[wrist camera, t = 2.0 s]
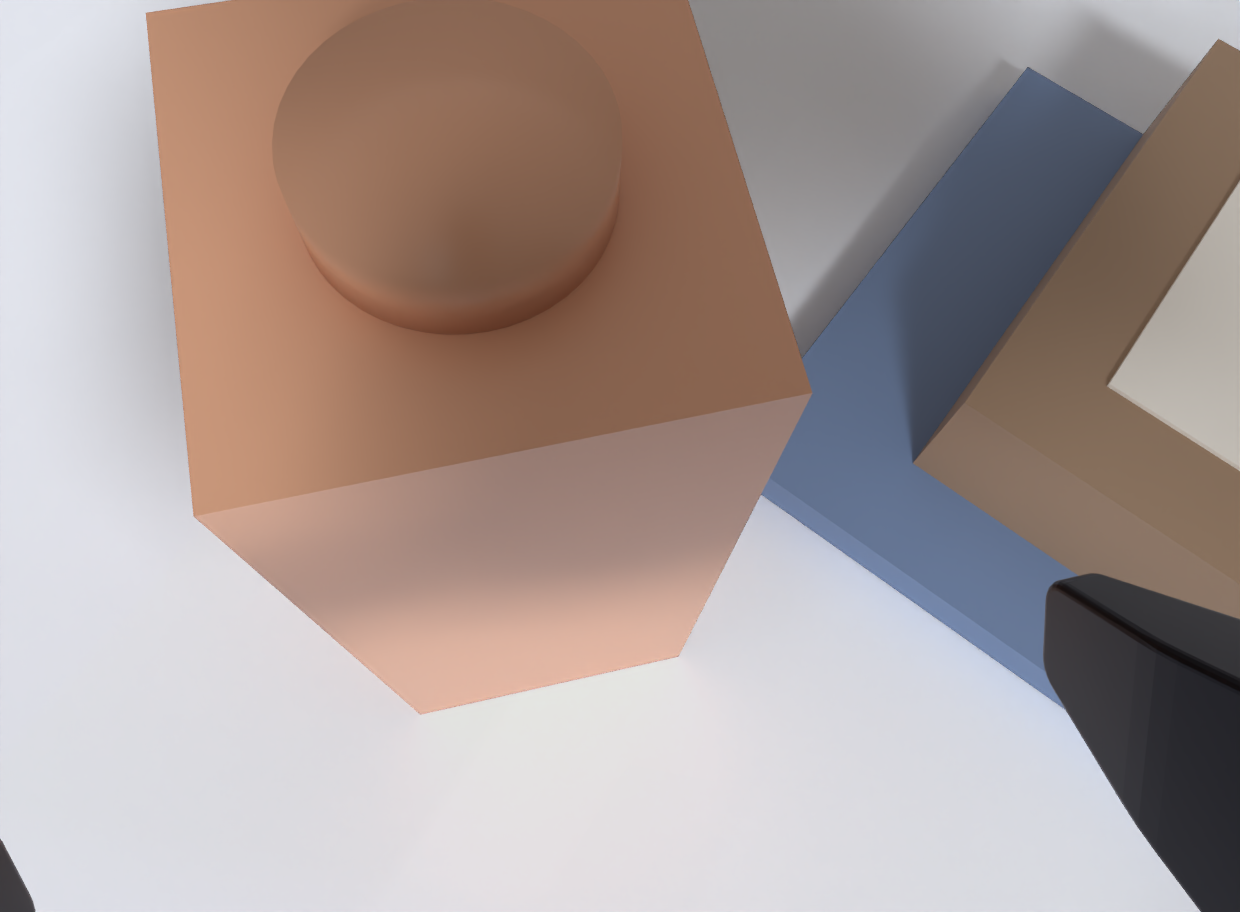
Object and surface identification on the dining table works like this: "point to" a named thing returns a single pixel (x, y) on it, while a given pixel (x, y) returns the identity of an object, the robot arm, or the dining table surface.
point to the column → (469, 325)
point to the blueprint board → (929, 361)
